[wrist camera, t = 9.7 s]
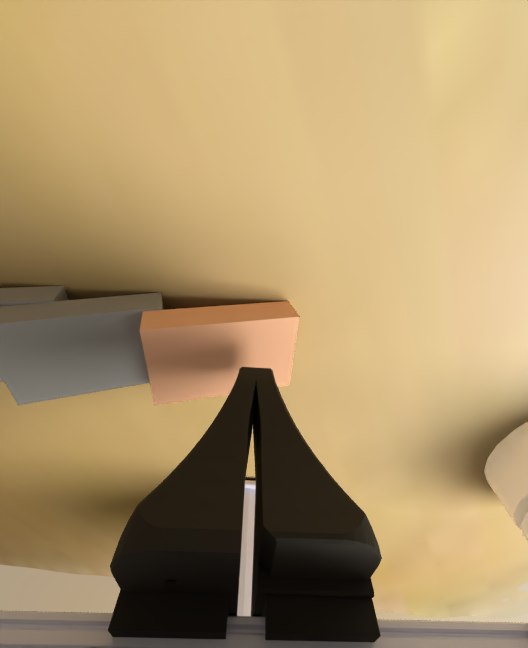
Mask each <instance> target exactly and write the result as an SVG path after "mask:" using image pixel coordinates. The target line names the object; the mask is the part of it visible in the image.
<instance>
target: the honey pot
mask: <svg viewBox="0 0 528 648" xmlns="http://www.w3.org/2000/svg"><path fill="white" fill-rule="evenodd" d="M484 472H485V476H486V479H487V482H488V483H489V485H490V486H491V488H492V489H493V491H494V492H495V494H496V496H497V497H498V499H499V500H500V502H501V503H502V505H503V506H504V508H505V509H506V511H507V512H508V514H509V515H510V517H511V518H512V520H513V521H514V523H515V524H516V525H517V526H518V527H519V528H520V529H521V530H522V534H523V536H524V537H525V538H526V539H527V540H528V422H526V423H525V424H523V425H521V426H520V427H518V428H516V429H515V430H513V431H512V432H511V433H510V434H509V435H508V436H506V437H505V438H504V439H503V440H502V441H501V442H500V443H499V444H497V446H496V447H495V448H494V450H493V451H492V453H491V454H490V455H489V457H488V458H487V462H486V466H485V470H484Z"/></svg>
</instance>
